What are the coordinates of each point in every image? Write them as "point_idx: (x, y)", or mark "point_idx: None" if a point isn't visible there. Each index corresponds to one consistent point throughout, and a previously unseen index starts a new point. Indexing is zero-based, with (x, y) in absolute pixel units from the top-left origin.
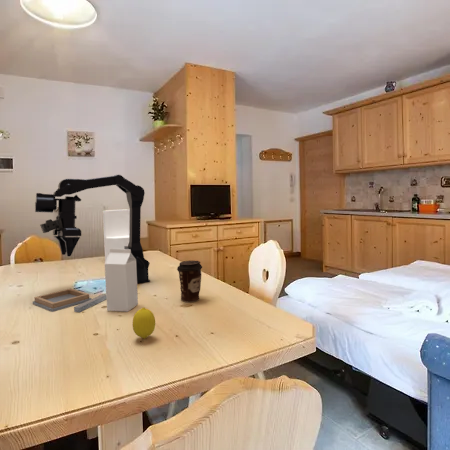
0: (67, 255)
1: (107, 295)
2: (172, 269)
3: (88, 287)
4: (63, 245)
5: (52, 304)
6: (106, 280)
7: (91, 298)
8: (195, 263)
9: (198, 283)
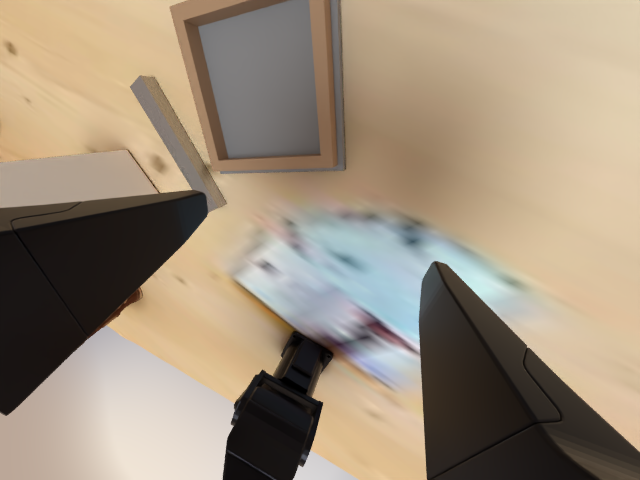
0: (189, 190)
1: (78, 155)
2: (345, 447)
3: (378, 255)
4: (452, 362)
5: (171, 7)
6: (16, 161)
7: (221, 173)
8: None
9: None
